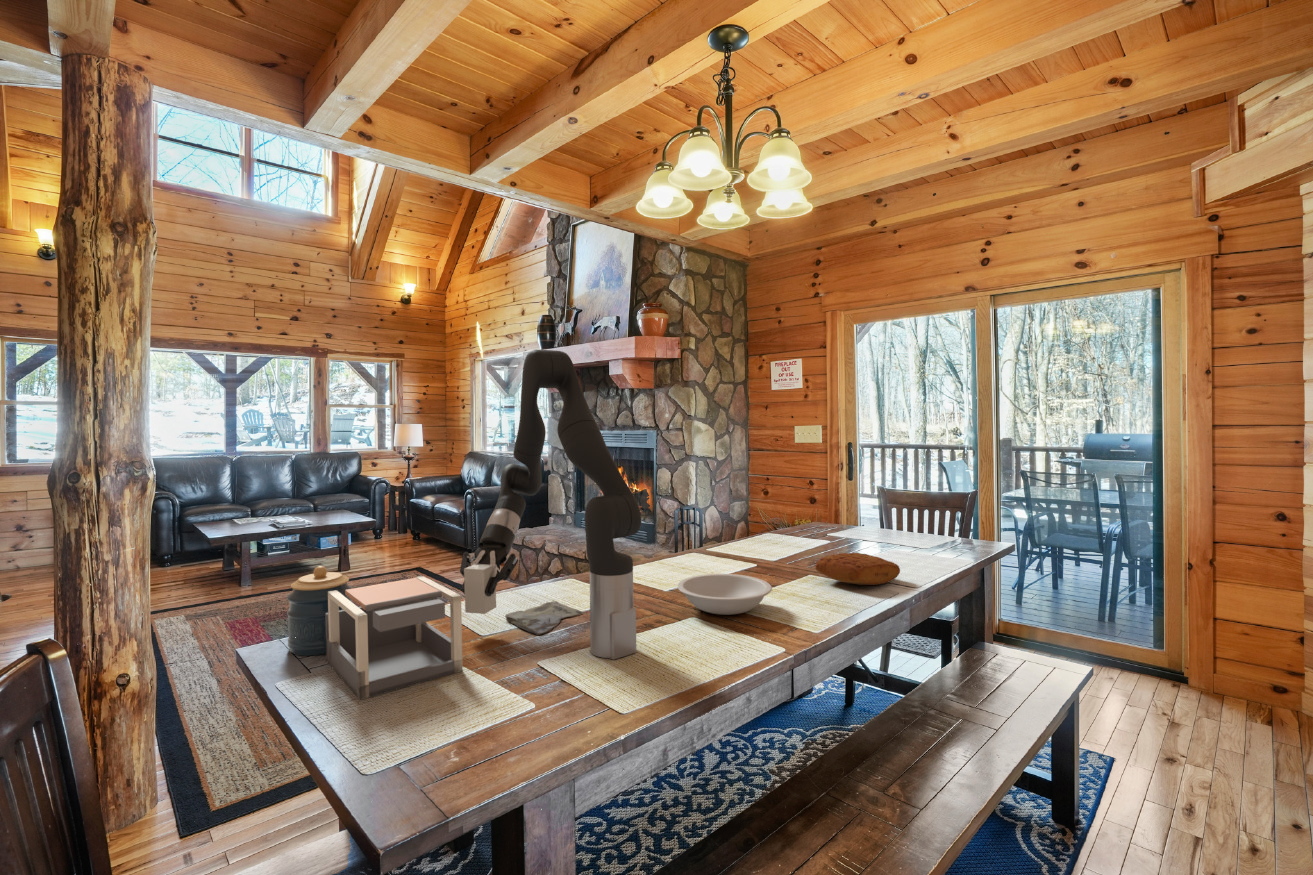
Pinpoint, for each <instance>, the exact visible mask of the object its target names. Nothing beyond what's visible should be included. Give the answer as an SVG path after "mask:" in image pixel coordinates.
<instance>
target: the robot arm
mask: <svg viewBox="0 0 1313 875" xmlns="http://www.w3.org/2000/svg"><path fill="white" fill-rule="evenodd" d="M540 389H556V390H557V391H558V392H559V394H560V396H561V400H562V410H561V413H560V415H559V419H558V424H557V430H556V431H557V436H558V438H559V441H560V443H561V446H562V449H563V451H564V453H565V456H566V457H567V459H568V460H569V461H570V462H571V463H572V464H573V465H574V466H575V467H576V468H577V469H578V470H579V471H580V472H582V473H583V474H584V475H585V476H587V477H588V478H589V479H590V480H592V481H593V483H595V485H596V486H597V487H598V489H600V491H601V493H602V495H600V496H595V497H592V498H590V500H588V502H587V504H586V507H585V512H584V528H585V530H584V531H585V543H586V546H585V547H586V558H587V561H588V563H589V625H590V626H589V634H590V635H589V637H590V639H589V641H590V653H591V655H594V656H595V657H598V658H603V659H604V658H605V659H610V660H617V659H620V658H622V657H626V656H630V655H632V654H636V653H637V609H636V607H634V561H633V560H634V559H633V557H632V556H631V555H629V554H628V553H627V554H626V553H623V552H619V551H617V550H616V549H615V544H614V543H615V542H614V539H621V538H627V537H631V536H634V535H635V534H637V533H638V532H639V531H640V529H641V525H642V514H641V509H640V507H639V504H638V501H637V499H636V498H635V495H634V494H633V493H632V491H631V489H630V487H629V486H628V484H627V482H626V480H625V479H624V477H623V476H622V474H621V472H620V471H619V469H618V466H617V465H616V463H615V461H614V459H613V456H612V455H611V453H610V451H609V449H608V445H606V442H605V439H604V436H603V435H602V432H601V430H600V428H599V426H598V423H597V421H596V419H595V418H594V415H593V414H592V411H591V409H590V407H589V405H588V402H587V400H586V398H585V395H584V392H583V389H582V386H581V384H580V380H579V377H578V374H577V371H576V368H575V366H574V362H573V360H572V359H571V357H570V356H569V354H568V353H567V352H564V351H561V350H551V349H550V350H549V349H532V350H530V351H529V352H528V353H527V354H526V356H525V358H524V362H523V368H522V377H521V391H520V392H521V394H520V409H519V412H520V413H519V414H520V415H519V423H518V430H517V434H516V439H515V442H514V448H513V457H514V459H515V460H516V461H518V462H520V463H521V464H523V465H520V464H516V463H508V464H507V465H506V466H504V468H503V469H502V471H501V475H500V489H499V495H498V499H497V502H496V504H495V506H494V509H493V511H492V513H491V515H490V517H489V519H488V521H487V523H486V526H485V528H484V530H483V533H482V535H481V538H480V540H479V544H478V548H477V549H475V551H474V552H471V553H469V552H468V551H464V552H463V553H462V558H461V562H460V563H461V564H460V569H459V573H460V574H461V576H462V577H463V578H464V569H465V568H467V567H469V566H472V565H477V564H490V565H493V567H492V568H493V570H492V572H491V578H489V581H488V583H487V586H486V588H485V594H486V595H487V596H491V594H493V593H494V591H495V588H497V586H498V583H499V582H500V581H508V579H509V577H510V576H511V575H512V572H513V571H514V570H515V567H516V566H517V564H518V562H519V558H518V557H517V556H516V554H515V553H510V552H511V550H512V547H513V545H514V541H515V540H516V536H517V534H518V531H519V527H520V524H521V523H520V522H521V520H522V517H523V515H524V511H525V510H526V505H527V503H526V500H525V498H524V497H522V495H526V496H530V497H531V496H535V495H536V494H537V493H539V491H540V489H541V487H542V482H543V479H542V478H543V477H542V476H543V475H542V469H541V468H542V467H541V465H542V464H541V459H542V453H543V449H544V445H545V441H546V431H547V430H546V426H545V425H546V424H545V422H544V420H543V417H542V415H541V412H540V408H539V406H538V405H539V404H538V396H539V391H540ZM524 465H525V466H524ZM520 494H521V495H520ZM501 565H503V566H502V567H501ZM461 591H462V593H463V594H464V595H465V586H464V582H463V583H462V585H461Z"/></svg>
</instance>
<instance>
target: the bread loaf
mask: <svg viewBox="0 0 1313 875" xmlns="http://www.w3.org/2000/svg"><path fill="white" fill-rule="evenodd" d="M814 569H815V570H816V572H818V573H819V574H821V575H824V576H826V577H828V578H830V579H832V580H834V581H838V582H843V583H846V584H853V585H857V586H858V585H859V586H877V585H883V584H887V583H889V582H892V581H894V580H896V578H897V577H898V576H899V574H900V573H901V568H900V566H899V565H898V564H897V563H895V562H893V561H889V560H888V559H884V558H882V557H879V556H874V555H871V554H868V553H860V552H849V553H848V552H842V553H835V554H830V555H827V556H826V555H825V556H823V557H821V558H819V559H818V561H816V563H815V568H814Z"/></svg>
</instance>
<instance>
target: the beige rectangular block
mask: <svg viewBox="0 0 1313 875" xmlns="http://www.w3.org/2000/svg"><path fill="white" fill-rule="evenodd" d="M492 567H493V565H490V564H477V565H472V566H469V567H467V568H465V569H464V577H463V579H464V580H463V583H464V586H465V594H464V609H465V610H464V611H465V613H467V614H481V615H482V614H483V615H485V614H488V613H489V612H491V611H493V610H494V609H496V608H497V589H496V588H497V587H496V588H495V591H494V593H493V594H491V596H487V595H486V594H485V588H486V586H487V583H488V581H489V578H491V572H492V570H493V568H492Z"/></svg>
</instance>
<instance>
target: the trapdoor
mask: <svg viewBox="0 0 1313 875" xmlns="http://www.w3.org/2000/svg"><path fill="white" fill-rule="evenodd" d="M345 595H346V596H347V597H349V598H350V599H351V600H352V601H353V602H354V604H355V605H357V606H358V607H362V608H363V609H364V610H365V611H366V612H367V611H372V610H373V627H374V628H375V629H377V630H378V631H379V632H383V631H387V630H392V629H396V628H401V627H405V626H410V625H414V624H419V623H424V622H426V623H428V622H433V621H437V620H441V619H445V618H446V602H445V601H443V600H442V599H440V598H443V596H442V592H441V591H439V590H437V589H435V588H434V587H432V586H430V585H428V584H426V583H424V582H422V581H420V580H419V579H417V578H415V577H412V578H407V579H401V580H396V581H388V582H385V583H384V582H383V583H378V584H372V585H366V586H359V587H353V589H348V590H345ZM407 603H408V604H407ZM402 604H403V605H402ZM397 605H398V606H397ZM392 606H393V607H392ZM387 607H388V608H387ZM382 608H383V609H382Z"/></svg>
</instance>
